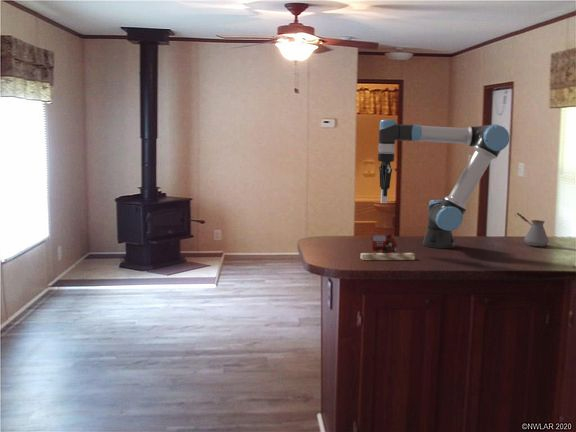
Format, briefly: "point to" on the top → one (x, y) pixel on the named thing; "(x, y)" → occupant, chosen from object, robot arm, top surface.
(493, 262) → the top surface
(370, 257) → the beige long bar
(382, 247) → the toy fire truck
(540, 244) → the coffee pot
